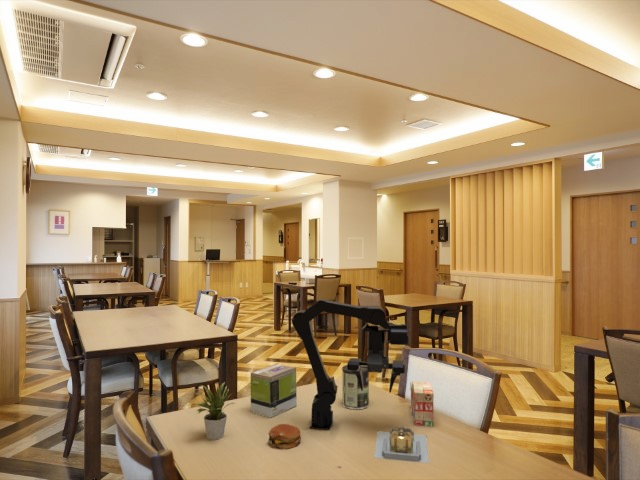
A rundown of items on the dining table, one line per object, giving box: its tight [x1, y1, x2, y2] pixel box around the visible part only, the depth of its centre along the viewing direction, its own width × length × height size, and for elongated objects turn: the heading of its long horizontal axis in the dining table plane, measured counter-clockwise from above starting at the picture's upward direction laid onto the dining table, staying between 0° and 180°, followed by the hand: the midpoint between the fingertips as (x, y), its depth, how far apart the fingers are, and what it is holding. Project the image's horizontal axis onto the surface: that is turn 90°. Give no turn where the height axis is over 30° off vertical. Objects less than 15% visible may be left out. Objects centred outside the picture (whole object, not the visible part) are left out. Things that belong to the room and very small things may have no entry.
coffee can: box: [341, 364, 370, 410], centre depth 166 cm, size 10×10×14 cm
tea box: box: [250, 363, 298, 419], centre depth 161 cm, size 15×10×15 cm, turn 144°
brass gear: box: [390, 430, 413, 454], centre depth 126 cm, size 7×7×5 cm
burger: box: [268, 423, 302, 450], centre depth 133 cm, size 10×9×5 cm
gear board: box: [373, 430, 430, 464], centre depth 129 cm, size 15×18×3 cm
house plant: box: [193, 381, 236, 441], centre depth 139 cm, size 14×14×16 cm
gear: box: [389, 426, 415, 441], centre depth 133 cm, size 7×7×3 cm
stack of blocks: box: [410, 381, 435, 427], centre depth 154 cm, size 21×6×12 cm, turn 172°
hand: (376, 391), depth 145 cm, fingers open, 9 cm apart
